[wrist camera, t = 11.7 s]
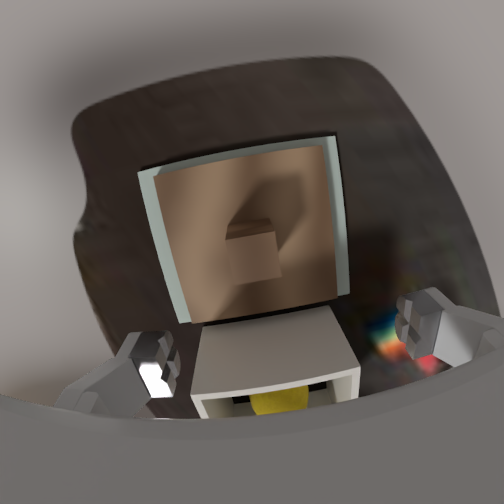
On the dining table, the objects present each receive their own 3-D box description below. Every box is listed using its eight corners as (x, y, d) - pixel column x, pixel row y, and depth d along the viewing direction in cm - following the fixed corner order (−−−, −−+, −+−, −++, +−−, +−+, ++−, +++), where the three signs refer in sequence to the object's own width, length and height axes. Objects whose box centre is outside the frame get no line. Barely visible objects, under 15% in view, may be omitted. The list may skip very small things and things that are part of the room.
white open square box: (328, 305, 27) (360, 366, 18) (331, 390, 31) (351, 450, 22) (202, 326, 27) (190, 395, 19) (230, 407, 31) (228, 470, 23)
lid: (318, 145, 22) (338, 144, 17) (334, 293, 26) (352, 322, 21) (156, 175, 22) (135, 181, 17) (193, 317, 26) (185, 350, 22)
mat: (333, 136, 22) (335, 135, 22) (348, 291, 26) (349, 293, 26) (139, 171, 22) (137, 172, 22) (180, 320, 27) (179, 323, 26)
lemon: (248, 343, 28) (250, 403, 20) (303, 342, 28) (321, 399, 21) (247, 383, 30) (249, 441, 22) (297, 381, 30) (310, 437, 22)
